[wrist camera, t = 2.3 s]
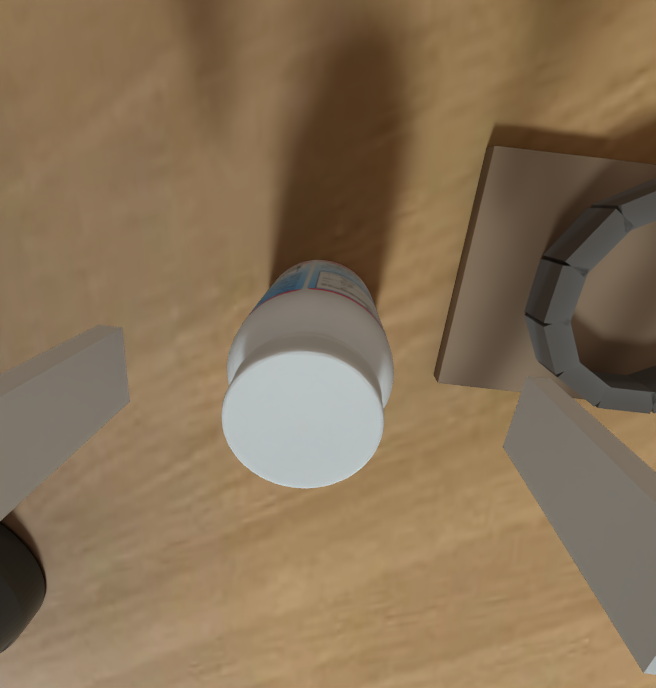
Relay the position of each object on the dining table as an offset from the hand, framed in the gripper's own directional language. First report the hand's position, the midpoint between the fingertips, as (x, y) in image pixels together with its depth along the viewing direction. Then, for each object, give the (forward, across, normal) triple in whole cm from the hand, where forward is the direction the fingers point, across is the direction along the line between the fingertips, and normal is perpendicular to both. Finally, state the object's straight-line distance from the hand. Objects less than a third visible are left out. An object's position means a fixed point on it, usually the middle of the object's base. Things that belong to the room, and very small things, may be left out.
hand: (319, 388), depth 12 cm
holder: (+9, +15, +3) cm, 18 cm away
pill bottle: (+9, -1, 0) cm, 9 cm away
